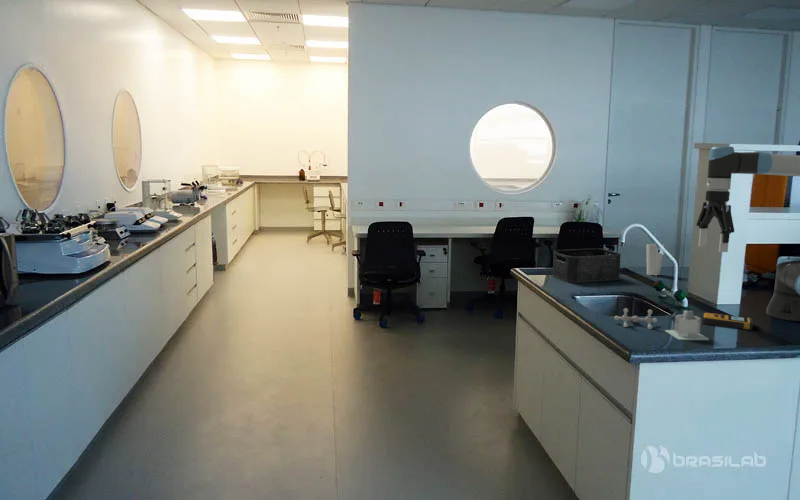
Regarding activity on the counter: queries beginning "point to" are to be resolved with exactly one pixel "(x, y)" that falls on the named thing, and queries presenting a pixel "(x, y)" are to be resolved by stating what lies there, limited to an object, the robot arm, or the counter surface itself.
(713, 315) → the electronic device
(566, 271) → the storage bin
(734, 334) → the counter surface
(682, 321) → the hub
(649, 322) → the molecular model
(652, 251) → the cup
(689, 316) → the block
